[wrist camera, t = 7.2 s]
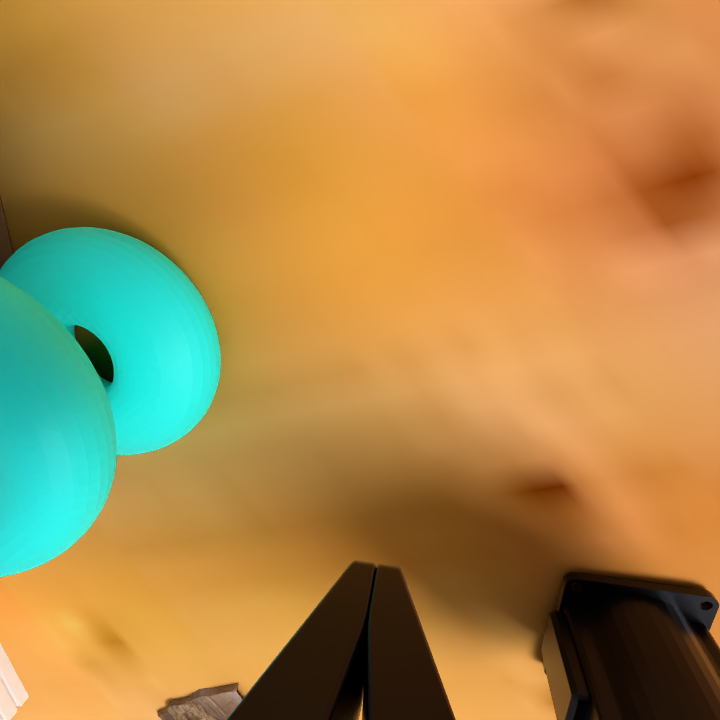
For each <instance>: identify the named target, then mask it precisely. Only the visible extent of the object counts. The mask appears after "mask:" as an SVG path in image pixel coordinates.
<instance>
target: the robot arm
mask: <svg viewBox="0 0 720 720" xmlns="http://www.w3.org/2000/svg"><path fill="white" fill-rule="evenodd" d="M574 583H578V584H576V585H572V584H574ZM703 602H704V603H703ZM718 608H719V603H718V601H717V600H716V598H715V597H714V595H713V594H712V593H711V592H709V591H706V590H701V589H693V588H686V587H679V586H672V585H664V584H657V583H650V582H642V581H635V580H628V579H621V578H613V577H606V576H599V575H591V574H584V573H577V572H571V573H568V574H566V575H565V576H564V578H563V580H562V584H561V589H560V593H559V597H558V601H557V605H556V609H555V610H553V611H552V612H551V613H550V614H549V617H548V621H547V626H546V630H545V634H544V638H543V643H542V647H541V652H542V656H543V667H544V671H545V673H546V675H547V678H548V683H549V687H550V691H551V696H552V700H553V704H554V709H555V713H556V717H557V720H720V648H719V646H718V645H717V643H716V641H715V640H714V638H713V637H712V635H711V633H710V632H709V630H710V628H711V625H712V623H713V620H714V618H715V615H716V613H717V610H718ZM362 700H363V710H362V720H455V717H454V714H453V711H452V709H451V706H450V703H449V700H448V698H447V695H446V692H445V689H444V686H443V684H442V681H441V678H440V675H439V673H438V670H437V667H436V664H435V662H434V659H433V656H432V653H431V651H430V648H429V645H428V642H427V639H426V637H425V634H424V631H423V628H422V626H421V623H420V620H419V617H418V615H417V612H416V609H415V606H414V603H413V601H412V598H411V595H410V592H409V590H408V587H407V584H406V581H405V579H404V576H403V573H402V571H401V569H400V568H399V567H397V566H391V565H384V564H379V565H378V566H377V568H376V565H375V564H374V563H370V562H363V561H354V562H352V563H351V564H350V565H349V567H348V568H347V569H346V570H345V572H344V573H343V574H342V575H341V577H340V578H339V579H338V580H337V582H336V583H335V584H334V585H333V587H332V588H331V589H330V590H329V592H328V593H327V594H326V595H325V597H324V598H323V599H322V600H321V602H320V603H319V604H318V605H317V607H316V608H315V609H314V610H313V612H312V613H311V614H310V615H309V617H308V618H307V619H306V620H305V622H304V623H303V624H302V626H301V627H300V628H299V629H298V631H297V632H296V633H295V634H294V636H293V637H292V638H291V639H290V641H289V642H288V643H287V644H286V646H285V647H284V648H283V649H282V651H281V652H280V653H279V654H278V656H277V657H276V658H275V659H274V661H273V662H272V663H271V664H270V666H269V667H268V668H267V669H266V671H265V672H264V673H263V674H262V676H261V677H260V678H259V679H258V681H257V682H256V683H255V684H254V686H253V687H252V688H251V689H250V691H249V692H248V693H247V694H246V696H245V697H244V698H243V699H242V701H241V702H240V703H239V704H238V706H237V707H236V708H235V709H234V711H233V712H232V713H231V714H230V716H229V717H228V718H227V719H226V720H359V716H360V711H361V706H362Z"/></svg>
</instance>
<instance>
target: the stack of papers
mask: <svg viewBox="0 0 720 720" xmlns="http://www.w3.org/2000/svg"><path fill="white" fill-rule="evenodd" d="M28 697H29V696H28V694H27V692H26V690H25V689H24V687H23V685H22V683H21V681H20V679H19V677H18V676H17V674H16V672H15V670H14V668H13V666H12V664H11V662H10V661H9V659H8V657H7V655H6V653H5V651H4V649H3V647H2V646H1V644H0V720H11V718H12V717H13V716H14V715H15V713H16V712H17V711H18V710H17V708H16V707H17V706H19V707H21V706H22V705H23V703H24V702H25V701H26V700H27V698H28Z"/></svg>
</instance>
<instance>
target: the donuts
mask: <svg viewBox="0 0 720 720" xmlns="http://www.w3.org/2000/svg"><path fill="white" fill-rule="evenodd" d="M75 325H78V326H81V327H83V328H86V329H87V330H89V331H90V332H92V333H93V334H94V335H96V336H97V337H98V338H99V339H100V340H101V342H102V343H103V344H104V345H105V347H106V348H107V350H108V352H109V354H110V356H111V359H112V362H113V367H114V378H113V382H109V381H107V380H105V379H103V378H102V377H100V376H99V375H98V373H97V372H96V370H95V368H94V366H93V364H92V363H91V361H90V360H89V358H88V356H87V355H86V353H85V352H84V350H83V349H82V348H81V346H80V345H79V343H78V342H77V341H76V340H75V331H74V327H75ZM220 371H221V352H220V344H219V338H218V334H217V330H216V327H215V323H214V321H213V318H212V315H211V313H210V311H209V309H208V307H207V305H206V303H205V301H204V299H203V297H202V296H201V294H200V293H199V291H198V290H197V288H196V287H195V285H194V284H193V283H192V282H191V280H190V279H189V278H188V277H187V276H186V275H185V273H184V272H183V271H182V270H181V269H180V268H179V267H178V266H177V265H176V264H174V263H173V262H172V261H171V260H170V259H169V258H167V257H166V256H165V255H164V254H162V253H161V252H159V251H158V250H156V249H155V248H153V247H152V246H150V245H148V244H147V243H145V242H143V241H141V240H139V239H136V238H134V237H131V236H129V235H126V234H123V233H120V232H116V231H112V230H108V229H103V228H96V227H74V228H65V229H59V230H55V231H52V232H49V233H46V234H43V235H41V236H39V237H37V238H35V239H33V240H31V241H29V242H27V243H26V244H24V245H23V246H22V247H20V248H19V249H18V250H17V251H16V252H15V253H14V254H13V255H12V256H11V257H10V258H9V259H8V260H7V261H6V262H5V264H4V265H3V266H2V268H1V269H0V577H4V576H9V575H13V574H17V573H20V572H24V571H27V570H30V569H33V568H36V567H38V566H41V565H43V564H45V563H46V562H48V561H50V560H52V559H53V558H55V557H57V556H59V555H60V554H62V553H63V552H65V551H66V550H67V549H69V548H70V547H71V546H72V545H73V544H74V543H76V542H77V541H78V540H79V539H80V538H81V537H82V536H83V535H84V534H85V533H86V532H87V531H88V529H89V528H90V527H91V526H92V524H93V523H94V521H95V520H96V518H97V517H98V515H99V514H100V512H101V510H102V509H103V507H104V505H105V503H106V500H107V498H108V496H109V492H110V489H111V486H112V483H113V479H114V476H115V470H116V461H117V455H135V454H142V453H147V452H152V451H155V450H158V449H161V448H164V447H166V446H168V445H170V444H172V443H174V442H176V441H177V440H179V439H181V438H182V437H184V436H185V435H186V434H187V433H189V432H190V431H191V430H192V429H193V428H194V427H195V426H196V425H197V424H198V423H199V422H200V420H201V419H202V418H203V417H204V415H205V414H206V412H207V411H208V409H209V407H210V405H211V403H212V401H213V398H214V396H215V393H216V390H217V387H218V383H219V378H220Z"/></svg>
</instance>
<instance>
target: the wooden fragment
mask: <svg viewBox="0 0 720 720" xmlns="http://www.w3.org/2000/svg"><path fill="white" fill-rule="evenodd" d="M237 687H238V683H236V684H232V685H226V686H221V687H215V688H205V689H199V690H197V691H196V692H194V693H193V694H192V695H191V696H190V697H187V698H183V699H174V700H173V701H172V702H171V703H170V705H169V706H168V707H167V708H165V709H163V710H160V711H159V712H158V716H159V717H160V718H161V719H162V720H226V719H227V718H228V717H229V716H230V714H231V713H232V712H233V711H234V709H235V708H236V707H237V706H238V704H239V703H240V702H241V701H242V698H241V697H240V696H239V694H238V693H237Z"/></svg>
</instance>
